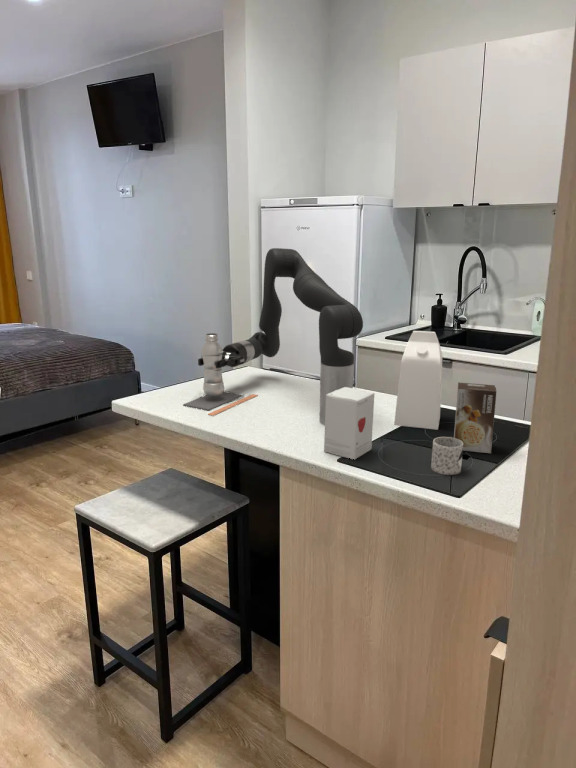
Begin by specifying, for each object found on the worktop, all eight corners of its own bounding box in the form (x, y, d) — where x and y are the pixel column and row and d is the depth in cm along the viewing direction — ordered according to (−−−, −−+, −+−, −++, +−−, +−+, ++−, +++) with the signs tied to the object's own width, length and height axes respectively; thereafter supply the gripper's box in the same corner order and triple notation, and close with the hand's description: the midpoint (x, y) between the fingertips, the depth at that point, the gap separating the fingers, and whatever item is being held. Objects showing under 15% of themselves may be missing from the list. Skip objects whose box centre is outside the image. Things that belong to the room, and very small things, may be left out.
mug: (464, 475, 125) (467, 447, 123) (435, 475, 125) (437, 447, 123) (451, 457, 134) (453, 431, 133) (424, 457, 134) (426, 431, 133)
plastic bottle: (223, 399, 174) (221, 336, 168) (201, 398, 174) (198, 336, 169) (225, 392, 180) (223, 332, 175) (205, 392, 180) (202, 332, 175)
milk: (440, 416, 164) (447, 329, 157) (437, 429, 153) (445, 336, 146) (398, 412, 167) (404, 327, 160) (394, 424, 157) (399, 334, 150)
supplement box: (354, 460, 132) (357, 400, 128) (323, 452, 137) (324, 394, 133) (372, 449, 139) (375, 392, 135) (342, 441, 144) (344, 385, 140)
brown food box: (489, 445, 142) (496, 384, 138) (491, 454, 136) (498, 391, 132) (452, 441, 145) (458, 381, 141) (452, 449, 139) (457, 388, 135)
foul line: (257, 395, 183) (257, 394, 183) (213, 416, 163) (213, 415, 163) (252, 394, 184) (252, 394, 184) (207, 414, 164) (207, 413, 164)
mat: (242, 396, 183) (242, 394, 182) (208, 411, 168) (208, 409, 167) (218, 391, 187) (218, 390, 187) (183, 405, 172) (183, 404, 172)
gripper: (221, 340, 188) (189, 349, 175) (256, 344, 182) (226, 354, 168) (221, 361, 191) (190, 372, 177) (256, 366, 184) (226, 378, 170)
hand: (207, 363), depth 172 cm, fingers closed on plastic bottle, 6 cm apart
